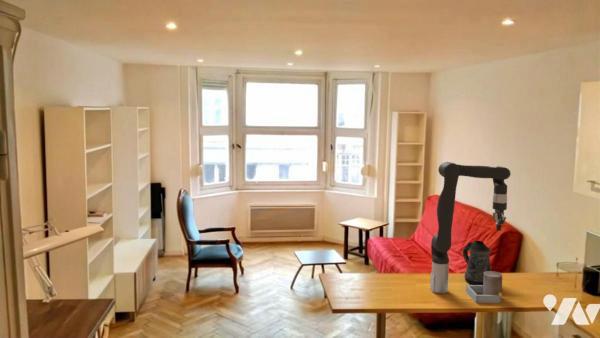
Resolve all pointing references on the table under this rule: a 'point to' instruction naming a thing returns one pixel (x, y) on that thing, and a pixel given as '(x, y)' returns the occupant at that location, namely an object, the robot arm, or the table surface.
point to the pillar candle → (492, 283)
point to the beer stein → (476, 262)
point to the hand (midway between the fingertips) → (498, 230)
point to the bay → (475, 289)
